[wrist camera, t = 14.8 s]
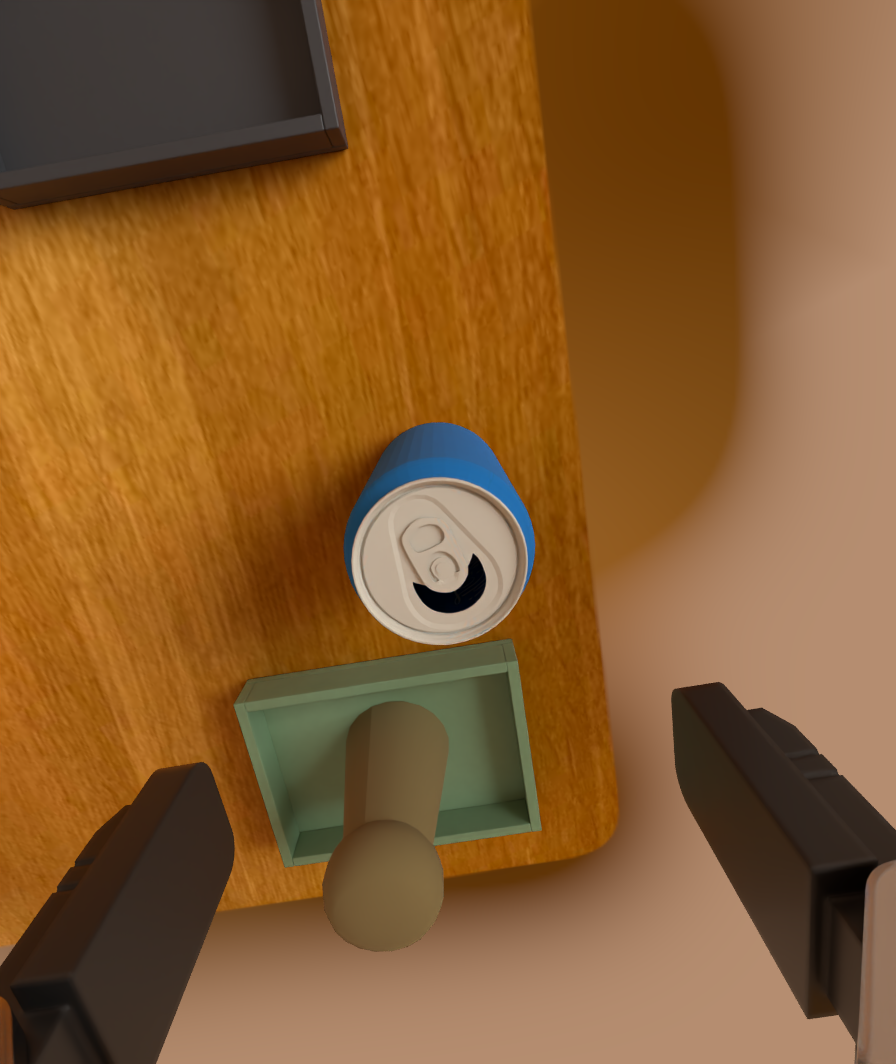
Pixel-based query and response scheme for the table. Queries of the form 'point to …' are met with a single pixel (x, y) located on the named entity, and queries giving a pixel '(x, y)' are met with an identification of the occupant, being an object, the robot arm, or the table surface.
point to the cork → (389, 829)
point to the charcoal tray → (158, 92)
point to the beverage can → (439, 537)
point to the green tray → (348, 690)
